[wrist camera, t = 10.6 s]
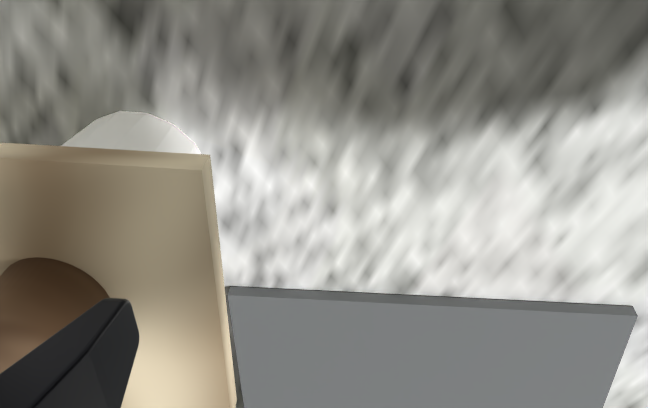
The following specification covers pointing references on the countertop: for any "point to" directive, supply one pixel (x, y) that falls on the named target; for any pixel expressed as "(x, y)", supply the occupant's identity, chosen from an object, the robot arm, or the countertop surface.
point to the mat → (423, 350)
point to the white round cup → (133, 134)
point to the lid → (118, 262)
